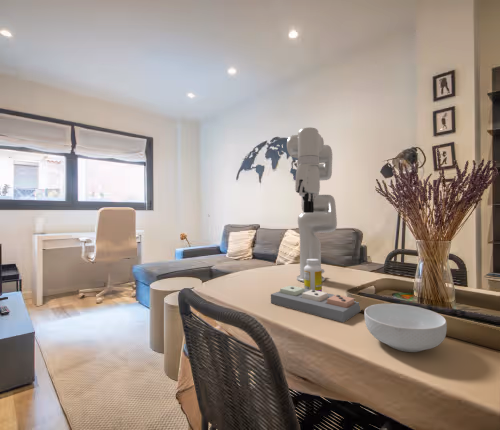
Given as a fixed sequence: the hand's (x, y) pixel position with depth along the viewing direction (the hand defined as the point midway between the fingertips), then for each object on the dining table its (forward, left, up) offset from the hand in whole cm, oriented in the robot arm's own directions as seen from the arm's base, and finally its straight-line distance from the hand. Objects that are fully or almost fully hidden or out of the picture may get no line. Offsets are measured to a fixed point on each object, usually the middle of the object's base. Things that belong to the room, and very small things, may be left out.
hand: (308, 212), depth 103 cm
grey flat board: (+8, +7, -31) cm, 33 cm away
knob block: (+8, -2, -31) cm, 32 cm away
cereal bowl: (+18, +36, -31) cm, 51 cm away
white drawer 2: (+8, +7, -31) cm, 32 cm away
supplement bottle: (-6, -2, -31) cm, 32 cm away
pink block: (+8, +16, -31) cm, 36 cm away
